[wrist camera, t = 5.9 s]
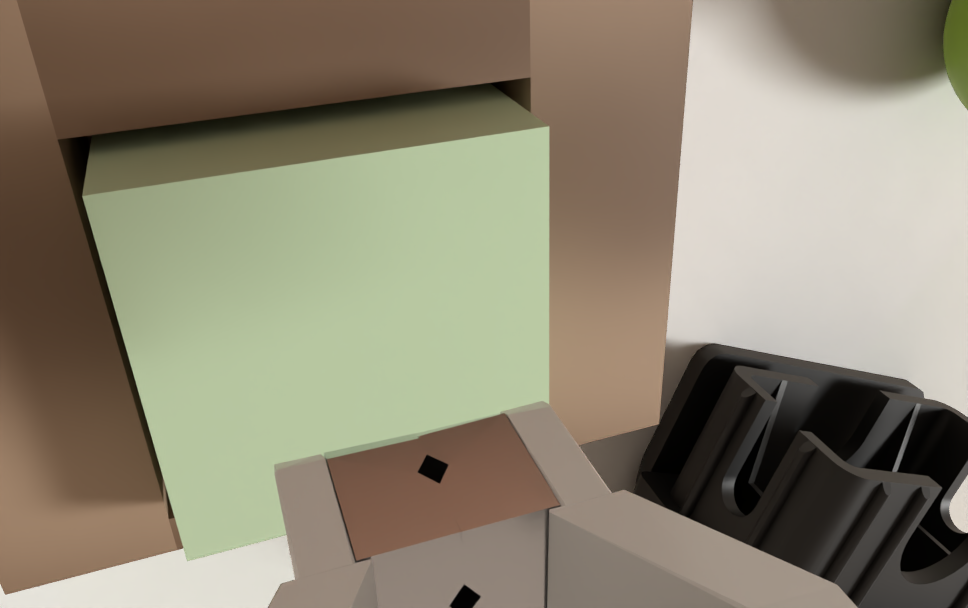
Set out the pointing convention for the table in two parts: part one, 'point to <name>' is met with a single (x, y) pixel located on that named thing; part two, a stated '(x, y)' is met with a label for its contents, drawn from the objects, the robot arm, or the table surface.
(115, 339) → the key panel
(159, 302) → the sage key
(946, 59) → the snail figurine
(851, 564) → the end cap
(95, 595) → the table surface
